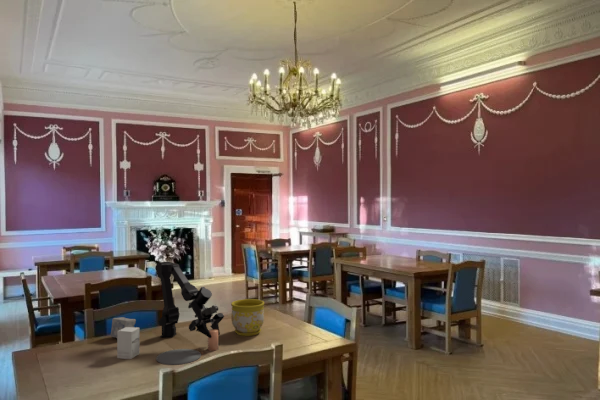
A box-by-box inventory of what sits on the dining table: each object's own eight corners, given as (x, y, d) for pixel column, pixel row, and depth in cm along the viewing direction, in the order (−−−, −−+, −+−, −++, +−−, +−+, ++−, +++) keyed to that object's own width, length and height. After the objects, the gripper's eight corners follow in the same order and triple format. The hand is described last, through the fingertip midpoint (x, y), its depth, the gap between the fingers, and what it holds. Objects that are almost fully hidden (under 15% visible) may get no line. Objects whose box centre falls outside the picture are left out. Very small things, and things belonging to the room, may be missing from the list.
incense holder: (136, 336, 243) (136, 317, 243) (124, 341, 235) (123, 321, 235) (122, 334, 247) (122, 315, 247) (110, 338, 240) (110, 318, 240)
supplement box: (131, 359, 209) (131, 331, 209) (116, 358, 210) (116, 330, 210) (140, 354, 216) (140, 327, 216) (125, 352, 218) (125, 326, 218)
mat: (148, 363, 204) (148, 362, 204) (168, 348, 224) (168, 347, 224) (190, 366, 200) (190, 365, 200) (207, 351, 220) (207, 350, 220)
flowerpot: (271, 331, 252) (271, 301, 252) (250, 339, 237) (250, 308, 237) (245, 326, 262) (245, 297, 262) (224, 334, 247) (224, 303, 247)
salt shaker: (206, 350, 221) (206, 331, 221) (210, 347, 226) (210, 328, 226) (216, 351, 220) (216, 332, 220) (219, 347, 225) (219, 329, 225)
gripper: (192, 303, 218) (208, 330, 211) (221, 296, 232) (237, 322, 226) (181, 317, 222) (196, 344, 216) (211, 309, 237) (226, 335, 231)
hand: (215, 336), depth 222 cm, fingers closed on salt shaker, 5 cm apart
